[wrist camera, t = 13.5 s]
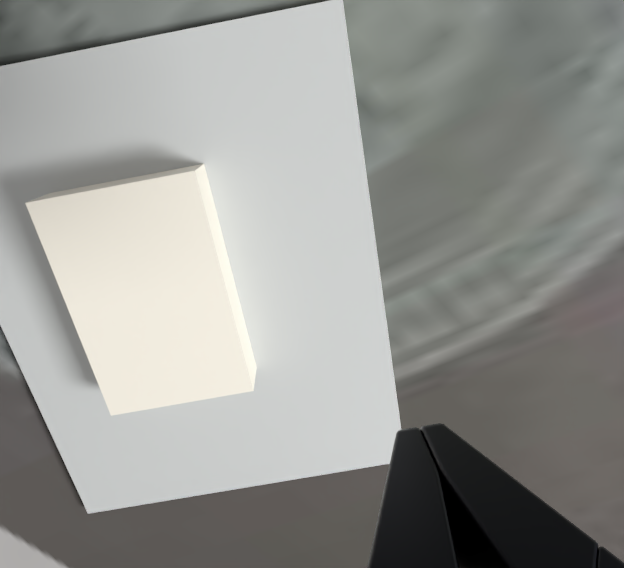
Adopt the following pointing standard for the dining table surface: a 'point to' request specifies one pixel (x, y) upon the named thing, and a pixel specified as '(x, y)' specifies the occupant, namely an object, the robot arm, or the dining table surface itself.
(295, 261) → the mat
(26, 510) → the dining table surface
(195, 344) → the block
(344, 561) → the dining table surface
